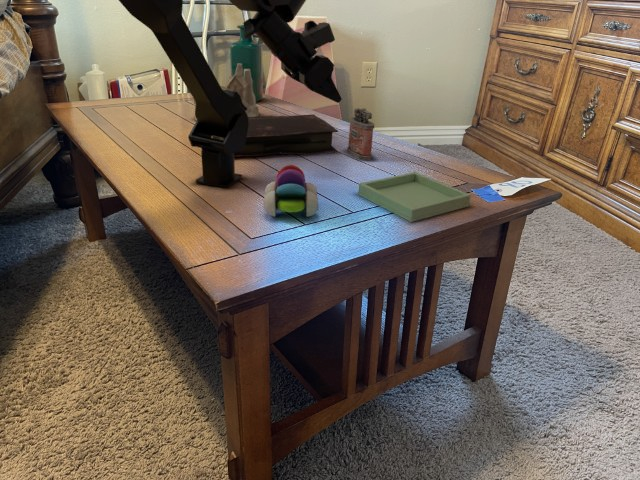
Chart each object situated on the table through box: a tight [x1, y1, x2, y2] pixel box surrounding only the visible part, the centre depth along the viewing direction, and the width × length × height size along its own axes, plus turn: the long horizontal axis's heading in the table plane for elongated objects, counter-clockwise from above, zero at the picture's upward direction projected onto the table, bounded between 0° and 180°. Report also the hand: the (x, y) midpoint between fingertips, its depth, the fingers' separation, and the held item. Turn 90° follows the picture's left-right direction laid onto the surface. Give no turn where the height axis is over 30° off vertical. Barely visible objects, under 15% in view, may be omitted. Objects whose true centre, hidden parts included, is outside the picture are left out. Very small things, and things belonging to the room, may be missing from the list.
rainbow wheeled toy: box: [263, 164, 319, 218], centre depth 81 cm, size 8×10×7 cm
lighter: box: [346, 107, 375, 161], centre depth 110 cm, size 8×3×10 cm, turn 25°
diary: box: [212, 114, 339, 158], centre depth 115 cm, size 19×25×5 cm
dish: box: [357, 171, 472, 223], centre depth 89 cm, size 14×14×2 cm
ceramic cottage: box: [193, 64, 260, 121], centre depth 136 cm, size 16×16×15 cm
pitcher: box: [229, 24, 264, 103], centre depth 156 cm, size 10×8×22 cm
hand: (332, 96), depth 105 cm, fingers open, 9 cm apart
